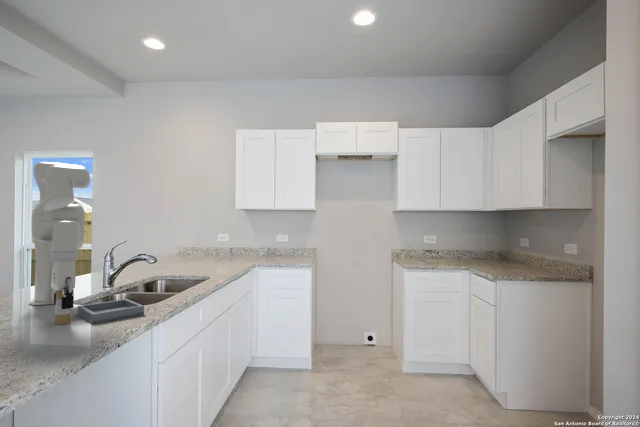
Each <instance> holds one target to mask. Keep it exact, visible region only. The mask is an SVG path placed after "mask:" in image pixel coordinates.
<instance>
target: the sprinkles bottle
mask: <svg viewBox="0 0 640 427" xmlns="http://www.w3.org/2000/svg"><path fill="white" fill-rule="evenodd" d="M65 293H66V291H65ZM62 297H63V293H62V289H61V290H60V291H56V305H55V306H54V307H55V308H54V312H55V313H54V315H55V318H54V324H55V325H66V324H69V323H71V313H72V308H69V309H62Z"/></svg>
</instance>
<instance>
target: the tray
mask: <svg viewBox="0 0 640 427" xmlns="http://www.w3.org/2000/svg"><path fill="white" fill-rule="evenodd" d="M77 315H78V316H79V317H81V318H82V319H84V320H86V321H87V322H89V323H90V324H100V323H104V322H111V321H115V319H116V320H120V319H126V318H131V317H137V316H142V315H145V305H143V304H141V303H138V302H136V301H133V300H131V299H128V298H123V299H116V300H110V301H103V302H97V303H90V304H82V305H77ZM110 320H111V321H110Z"/></svg>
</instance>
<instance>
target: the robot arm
mask: <svg viewBox="0 0 640 427" xmlns="http://www.w3.org/2000/svg"><path fill="white" fill-rule="evenodd" d="M33 177H34V180H35V183H36V185H37V187H38V190H39V203H38V204H37V205H36V206H35V208H33V211H32V214H31V235H32V237H33V243H34V251H35V268H34V269H35V273H34V295H33V297H34V298H33V299H30V300H29V305H31V306H48V305H56V291H60V290H61V289H62V293H63V297H62V309H69V308H71V309H73V308H74V303H75V302H74V299H75V298H74V296H75V294H74V293H75V292H74V291H75V290H74V289H75V287H76V261H79V250H80V249H82V248H83V246H84V242H85V227H86V226H85V221H86V220H85V218H86V212H85V209H84V207H83V205H80V204H75V203H74V201H75V196H74V189H87V188H88V187H89V185H90V184H91V176H90V172H89V170H88V168H86V167H85V166H82V165H79V164H69V163H62V162H51V161H50V162H49V161H40V162H37V163H35V164H34V166H33ZM65 291H66V293H65Z"/></svg>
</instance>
